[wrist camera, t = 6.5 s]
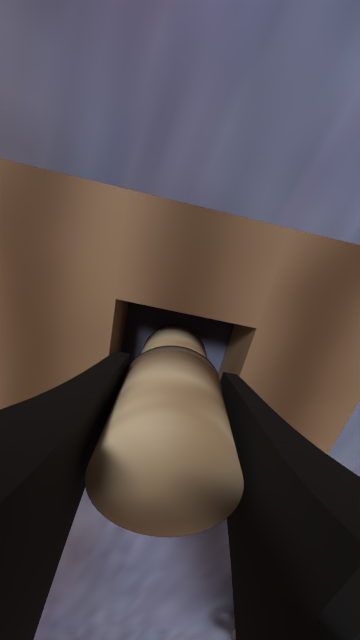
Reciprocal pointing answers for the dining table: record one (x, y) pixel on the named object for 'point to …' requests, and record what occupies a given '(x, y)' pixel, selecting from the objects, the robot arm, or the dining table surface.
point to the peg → (167, 444)
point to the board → (174, 292)
